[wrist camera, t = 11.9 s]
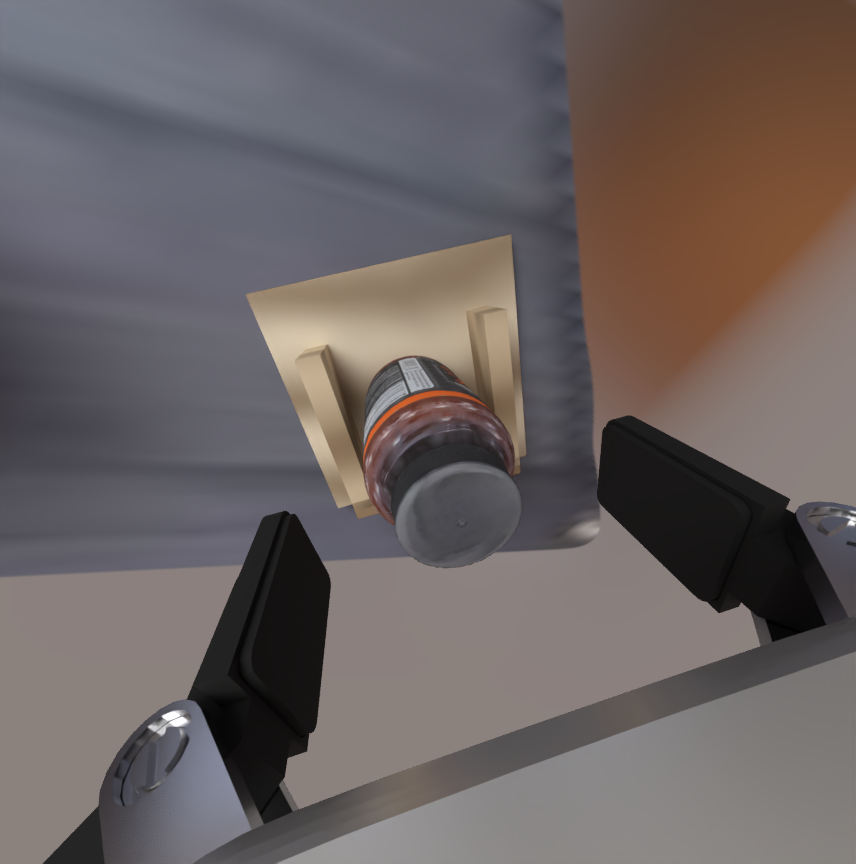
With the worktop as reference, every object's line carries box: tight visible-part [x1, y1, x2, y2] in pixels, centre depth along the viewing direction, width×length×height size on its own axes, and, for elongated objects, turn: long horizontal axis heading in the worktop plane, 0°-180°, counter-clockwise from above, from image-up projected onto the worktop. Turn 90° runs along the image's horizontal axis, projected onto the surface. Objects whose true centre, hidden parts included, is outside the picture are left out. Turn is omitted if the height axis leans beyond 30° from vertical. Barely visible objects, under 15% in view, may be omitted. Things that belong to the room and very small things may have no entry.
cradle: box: [246, 234, 527, 519], centre depth 18 cm, size 14×14×4 cm
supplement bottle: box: [363, 355, 522, 568], centre depth 14 cm, size 6×6×11 cm
